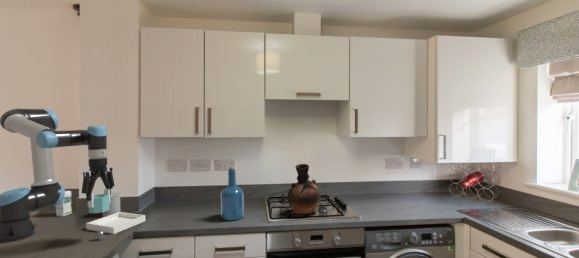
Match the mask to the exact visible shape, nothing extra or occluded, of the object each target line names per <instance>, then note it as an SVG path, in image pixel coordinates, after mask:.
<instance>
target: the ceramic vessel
mask: <svg viewBox="0 0 579 258" xmlns="http://www.w3.org/2000/svg"><path fill="white" fill-rule="evenodd" d="M309 169H310V165H309V164H307V163H299V164H297V165H296V166H295V170H296V173H297V176H296V180H297V182H293V183H291V187H290V188H289V190H288V193H287V199H286V200H287V203H288V205H289V207H290V209H291V210H292V212H294V213H296V214H298V215H299V214H301V215H302V214H303V215H307V214H311V213H313V212H314V211H315V210H316V209H317V208H318V206H319V204H320V201H321V198H322V197H321V196H322V195H321V191H320V188H319V187H318V186H317V184H316V179H312V180H309V179H310V174H309Z"/></svg>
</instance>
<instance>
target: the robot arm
mask: <svg viewBox="0 0 579 258" xmlns="http://www.w3.org/2000/svg"><path fill="white" fill-rule="evenodd" d="M59 125H60V124H59V118H58V116H57V114H56V113H55V112H54V111H53V110H50V109H43V108H42V109H41V108H13V109H9V110H8V111H7V110H6V111H5V112H4V113H3V114H2V115H1V116H0V126H1V127H2V128H3V129H4V130H5V131H7V132H9V133H13V134H20V135H22V136H24V137H27V138H29V140H30V149H31V162H32V173H33V183H32V184H30V188H29V187H19V188H13V189H9V190H6V191H3V192H2V193H0V243H9V242H16V241H19V240H23V239H26V238H29V237H31V236H34V234H36V227H35V225H34V223H33V221H32V219H31V213H33V212H37V211H41V210H45V209H48V208H49V209H51V208H53V207H56V206H57V205H59V204H60V203H61V202H62V201H63V199H64V196H65V191H66V190H65V188H64V186H63V184H61V183H59V181H58V180H57V179H56V178H55V167H54V158H53V157H54V156H53V148H54V149H56V148H65V147H76V146H77V147H78V146H87V148H88V149H87V150H88V151H87V155H88V156H87V157H88V167H89V169H88V170H87V171H83V172H82V175H83V178H82V184H81V185H82V188H81V194H85V197H86V198H85V199H86V201H87V208H89V207H91V208H93V207H94V197H93V195H94V192H93V190H94V187H95V184H96V181H97V180H98V178H100V179H101V181H102V184H103V185H104V186H105V188H104V190H103V191H104V193H103V194H109V202H110V195H111V193H112V190H113V187H115V180H114V176H113V175H114V174H113V167H108V166H107V165H108V149H107V146H108V145H107V142H108V141H107V137H108V136H107V135H108V134H107V127H106V126H105V125H89V126H87V129H73V130H57V129H58V127H59Z"/></svg>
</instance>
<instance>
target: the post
mask: <svg viewBox="0 0 579 258" xmlns="http://www.w3.org/2000/svg"><path fill="white" fill-rule="evenodd" d="M96 233H97V234H96V236H97V241H98V240H99V241H103V240H104V232H103V230H101V231H96Z"/></svg>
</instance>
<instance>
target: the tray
mask: <svg viewBox="0 0 579 258" xmlns="http://www.w3.org/2000/svg"><path fill="white" fill-rule="evenodd" d="M144 222H146V215H145V214H138V213H129V212H124V211H123V212H122V211H120V212H118V213H115V214H112V215H109V216H106V217H103V216H102V217H101V218H98V219H94V220H92V221H88V222H86V223H85V230H88V231H94V232H98V231H101V230H103V234H105V233H106V234H111V235H112V234H113V235H115V234H117V233H120V232H122V231H125V230H127V229H129V228H132V227H135V226H136V225H139V224H141V223H144Z"/></svg>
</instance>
